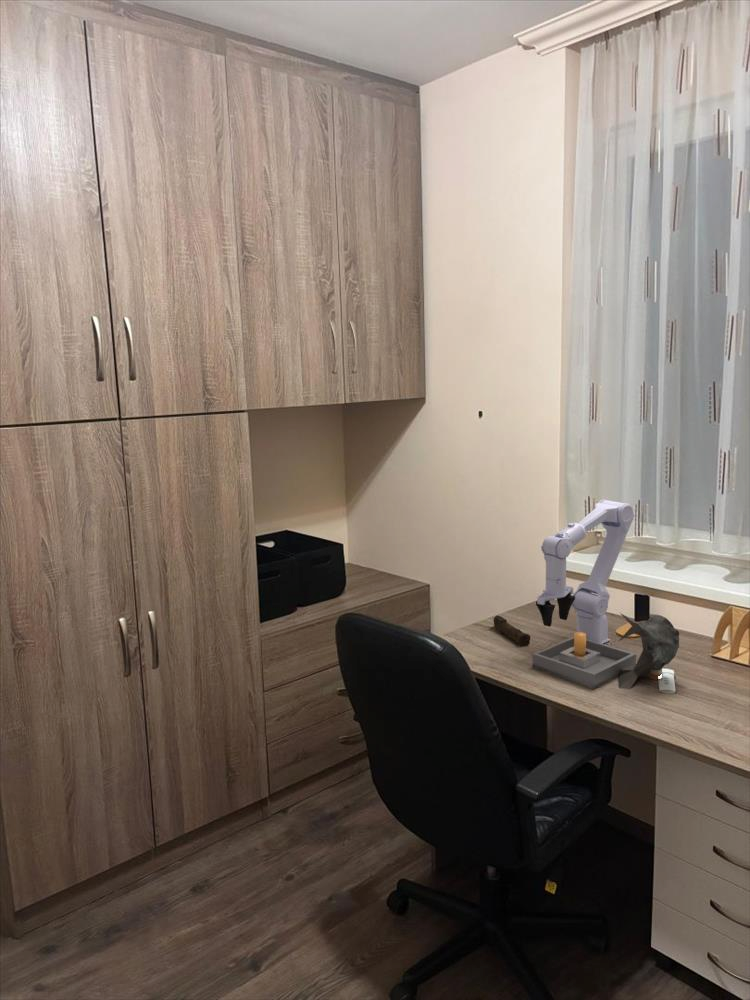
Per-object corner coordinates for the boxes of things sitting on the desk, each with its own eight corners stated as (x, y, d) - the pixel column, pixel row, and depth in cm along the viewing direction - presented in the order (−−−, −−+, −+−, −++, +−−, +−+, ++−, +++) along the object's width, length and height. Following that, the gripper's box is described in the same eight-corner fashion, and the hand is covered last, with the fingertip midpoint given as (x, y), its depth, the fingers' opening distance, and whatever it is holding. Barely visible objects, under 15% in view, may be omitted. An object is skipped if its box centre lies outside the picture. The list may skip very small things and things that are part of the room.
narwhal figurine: (681, 692, 193) (684, 625, 190) (618, 688, 197) (620, 622, 194) (674, 670, 207) (677, 607, 203) (616, 666, 210) (617, 604, 207)
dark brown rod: (531, 646, 228) (531, 631, 227) (519, 648, 227) (519, 633, 226) (502, 626, 246) (502, 612, 245) (491, 628, 245) (491, 614, 244)
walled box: (574, 648, 224) (575, 635, 224) (635, 667, 209) (636, 653, 209) (532, 667, 212) (532, 653, 211) (594, 689, 197) (594, 674, 196)
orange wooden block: (577, 657, 215) (578, 631, 213) (587, 660, 212) (588, 633, 211) (571, 661, 213) (572, 634, 211) (581, 664, 210) (582, 637, 209)
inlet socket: (576, 653, 218) (576, 645, 218) (600, 661, 212) (600, 652, 212) (559, 661, 213) (559, 652, 213) (583, 669, 207) (583, 660, 206)
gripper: (559, 569, 225) (559, 613, 227) (528, 580, 216) (528, 625, 218) (579, 574, 220) (578, 618, 222) (548, 585, 210) (548, 631, 213)
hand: (555, 622), depth 220 cm, fingers open, 7 cm apart
